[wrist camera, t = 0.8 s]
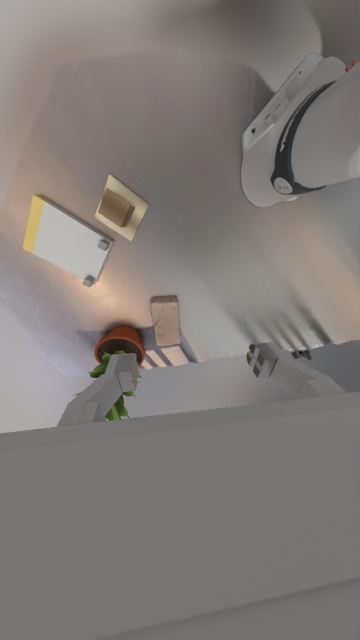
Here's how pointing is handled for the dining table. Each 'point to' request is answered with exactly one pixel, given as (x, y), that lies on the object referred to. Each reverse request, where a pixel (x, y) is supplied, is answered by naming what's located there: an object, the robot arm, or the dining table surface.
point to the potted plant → (111, 344)
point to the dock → (66, 241)
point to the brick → (165, 320)
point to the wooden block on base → (121, 209)
